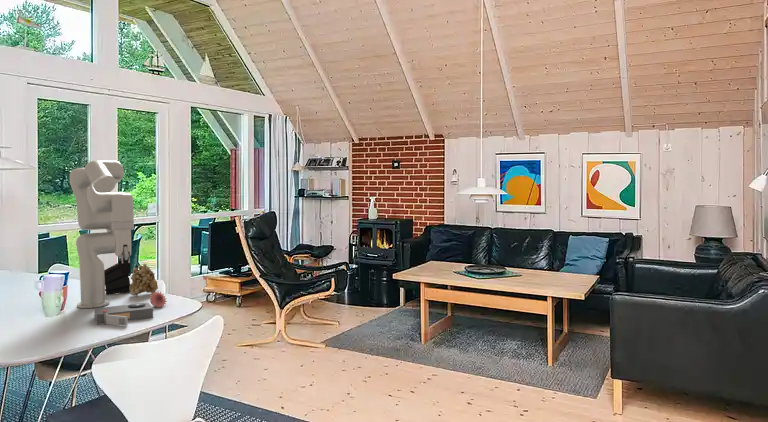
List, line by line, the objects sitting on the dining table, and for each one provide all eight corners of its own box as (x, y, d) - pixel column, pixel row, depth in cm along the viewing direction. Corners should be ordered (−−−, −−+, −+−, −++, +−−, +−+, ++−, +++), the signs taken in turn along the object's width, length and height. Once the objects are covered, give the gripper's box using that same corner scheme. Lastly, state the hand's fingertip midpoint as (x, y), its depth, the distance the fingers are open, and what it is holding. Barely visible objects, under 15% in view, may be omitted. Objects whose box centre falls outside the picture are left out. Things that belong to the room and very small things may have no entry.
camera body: (94, 317, 225) (94, 306, 225) (148, 311, 236) (148, 300, 235) (97, 324, 215) (96, 313, 215) (153, 317, 225) (152, 306, 225)
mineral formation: (126, 295, 267) (125, 264, 266) (154, 291, 277) (153, 261, 276) (134, 298, 262) (132, 266, 261) (162, 293, 271) (161, 262, 270)
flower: (146, 292, 246) (152, 286, 243) (163, 297, 251) (170, 291, 248) (144, 308, 241) (150, 302, 239) (162, 312, 246) (168, 307, 243)
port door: (106, 323, 216) (105, 313, 216) (128, 325, 213) (127, 315, 212) (102, 324, 215) (102, 314, 214) (124, 326, 211) (124, 316, 211)
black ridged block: (138, 288, 277) (122, 261, 272) (111, 302, 270) (95, 276, 266) (136, 286, 280) (121, 261, 275) (110, 301, 273) (94, 275, 269)
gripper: (110, 224, 220) (111, 270, 221) (114, 228, 205) (116, 276, 206) (131, 223, 224) (132, 268, 225) (136, 227, 209) (138, 274, 210)
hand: (124, 271), depth 215 cm, fingers open, 7 cm apart
